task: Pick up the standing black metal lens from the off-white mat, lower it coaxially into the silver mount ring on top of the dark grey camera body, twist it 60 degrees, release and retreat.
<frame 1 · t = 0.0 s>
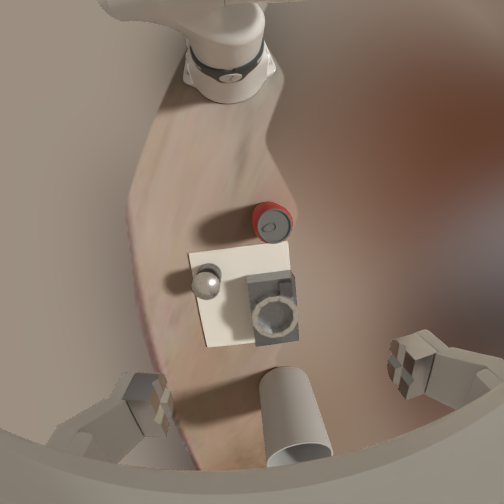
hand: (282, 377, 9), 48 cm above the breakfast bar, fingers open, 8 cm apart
beer can: (267, 217, 56), on the breakfast bar
mat: (244, 297, 59), on the breakfast bar
camera body: (271, 303, 59), resting on mat
cylinder vase: (283, 383, 65), on the breakfast bar
lens: (209, 275, 57), resting on mat
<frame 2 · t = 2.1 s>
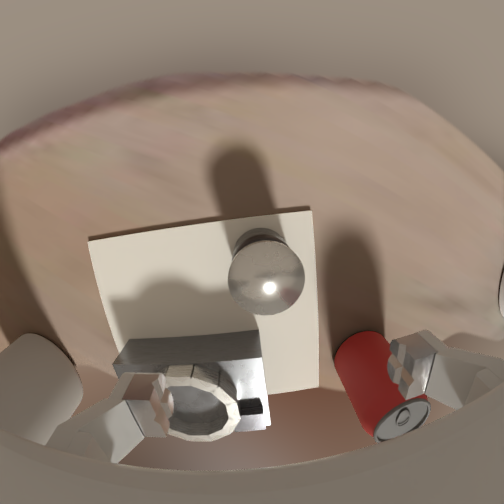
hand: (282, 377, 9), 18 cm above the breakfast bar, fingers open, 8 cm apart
beer can: (359, 352, 29), on the breakfast bar
mat: (208, 324, 28), on the breakfast bar
camera body: (199, 370, 29), resting on mat
cylinder vase: (50, 368, 29), on the breakfast bar
lens: (260, 255, 26), resting on mat
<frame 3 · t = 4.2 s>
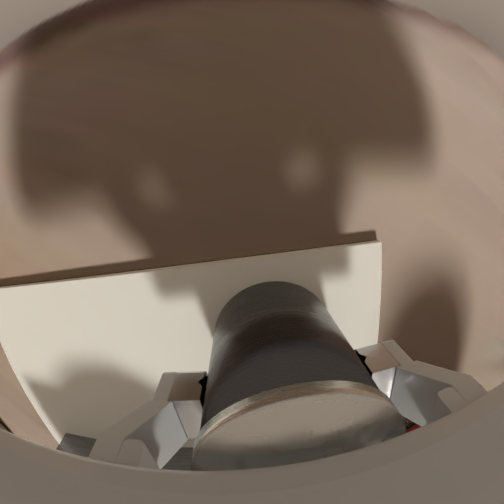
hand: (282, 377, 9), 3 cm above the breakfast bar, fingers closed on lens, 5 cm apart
mat: (178, 432, 14), on the breakfast bar
camera body: (172, 480, 14), resting on mat
lens: (273, 335, 12), resting on mat, touching gripper
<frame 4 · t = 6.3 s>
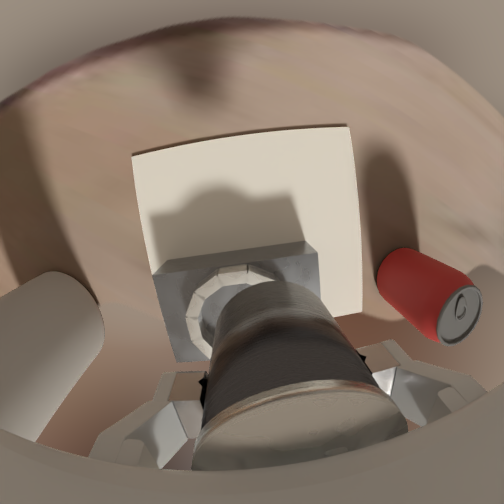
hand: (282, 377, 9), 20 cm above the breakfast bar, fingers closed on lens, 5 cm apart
beer can: (397, 273, 30), on the breakfast bar
mat: (253, 236, 28), on the breakfast bar
camera body: (241, 292, 29), resting on mat
cylinder vase: (67, 315, 30), on the breakfast bar
lens: (273, 335, 12), point 17 cm above the breakfast bar, touching gripper
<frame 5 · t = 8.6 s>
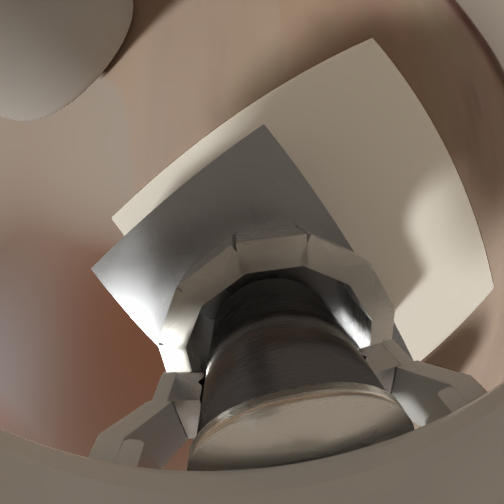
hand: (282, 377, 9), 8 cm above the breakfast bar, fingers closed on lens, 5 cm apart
mat: (356, 259, 17), on the breakfast bar
camera body: (266, 291, 16), resting on mat
cylinder vase: (61, 45, 12), on the breakfast bar
lens: (273, 335, 11), point 5 cm above the breakfast bar, touching gripper
when the fingers open (8 cm above the breakfast bar, at t = 9.5 s): lens stays where it is, resting on camera body.
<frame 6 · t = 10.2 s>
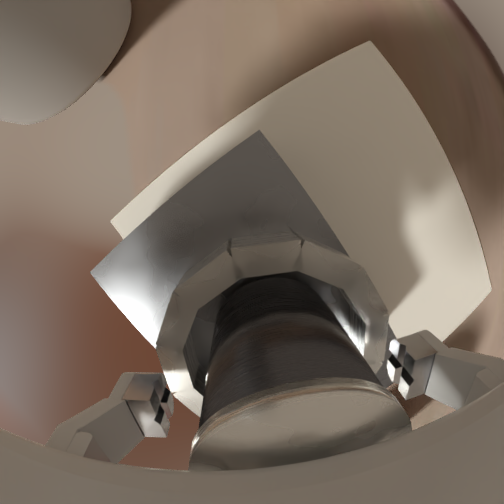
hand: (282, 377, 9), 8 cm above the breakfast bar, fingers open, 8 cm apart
mat: (353, 262, 17), on the breakfast bar
camera body: (263, 294, 16), resting on mat
cylinder vase: (60, 48, 12), on the breakfast bar
lens: (273, 333, 12), point 5 cm above the breakfast bar, touching camera body
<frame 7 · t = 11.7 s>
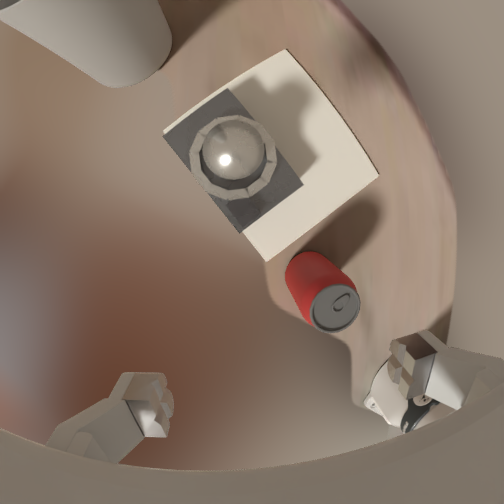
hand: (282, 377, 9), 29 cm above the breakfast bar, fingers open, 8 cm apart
beer can: (307, 272, 39), on the breakfast bar
mat: (276, 148, 35), on the breakfast bar
camera body: (233, 161, 34), resting on mat
cylinder vase: (131, 52, 30), on the breakfast bar
lens: (233, 156, 29), point 5 cm above the breakfast bar, touching camera body
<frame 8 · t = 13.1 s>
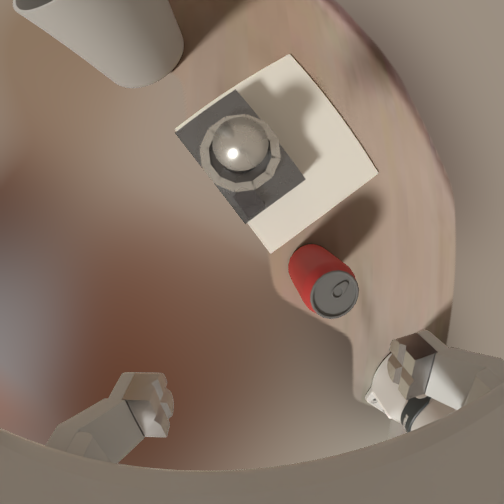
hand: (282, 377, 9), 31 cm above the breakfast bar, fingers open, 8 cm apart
beer can: (309, 265, 41), on the breakfast bar
mat: (281, 147, 37), on the breakfast bar
camera body: (240, 158, 37), resting on mat
cylinder vase: (145, 54, 33), on the breakfast bar
lens: (240, 152, 32), point 5 cm above the breakfast bar, touching camera body
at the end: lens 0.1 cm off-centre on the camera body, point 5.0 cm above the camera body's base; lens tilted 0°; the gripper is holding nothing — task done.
